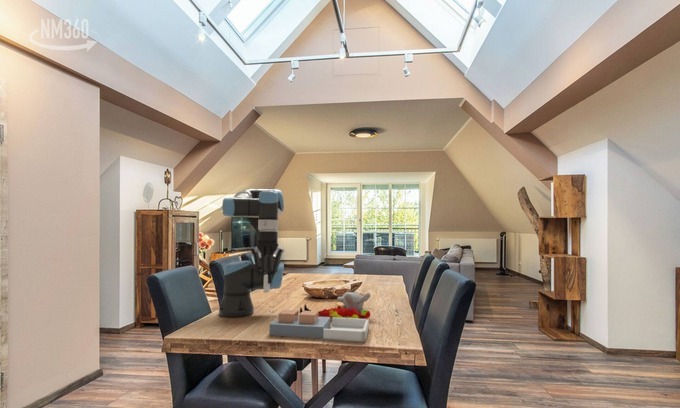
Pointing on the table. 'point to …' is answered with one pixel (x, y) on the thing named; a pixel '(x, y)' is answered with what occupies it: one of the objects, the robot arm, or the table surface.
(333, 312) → the figurine
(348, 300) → the toy
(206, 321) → the table surface
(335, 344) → the table surface
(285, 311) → the tile
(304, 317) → the tile
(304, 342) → the table surface
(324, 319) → the flat grey box
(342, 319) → the box
